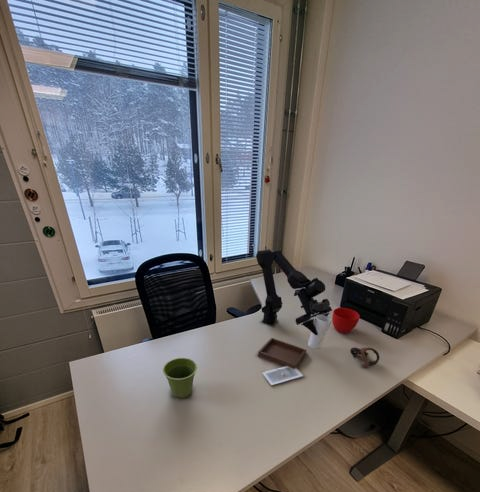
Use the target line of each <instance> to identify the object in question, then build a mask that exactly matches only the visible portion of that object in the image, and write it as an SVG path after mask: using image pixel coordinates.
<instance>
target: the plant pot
mask: <svg viewBox="0 0 480 492" xmlns="http://www.w3.org/2000/svg"><path fill="white" fill-rule="evenodd" d="M197 370H198V365H197V363H196V361H194V360H193V359H191V358H188V357H176V358H173V359H171V360H169V361H167V362H166V363H164V365H163V367H162V373H163V375H164V376H165V378H166V379H167V382H168V385H169V388H170V391H171V395H173V396H174V397H175V398H180V399H183V398H184V399H185V398H186V397H188V396H189V395H191V393H192V391H193V383H194V378H195V375H196V372H197Z"/></svg>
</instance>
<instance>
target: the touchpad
mask: <svg viewBox="0 0 480 492" xmlns="http://www.w3.org/2000/svg"><path fill="white" fill-rule="evenodd" d="M261 374H262V375H263V376H264V378H265V379H266V380H267V382H268V384H270V386H273V385H277V384H281V383H284V382H288V381H291V380H295V379H298V378H302V377H304V375H303V373H302V372H301V371H300V370H299V369H298V367H297V368H295V369H293V368H291V367H288V366H282V367H278V368H273V369H270V370H266V371H263V372H261Z"/></svg>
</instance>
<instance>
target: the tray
mask: <svg viewBox="0 0 480 492" xmlns="http://www.w3.org/2000/svg"><path fill="white" fill-rule="evenodd" d="M306 354H307V349H305V348H302V347H299V346H297V345H294V344H291V343H289V342H285V341H282V340H279V339H277V338H274V337H271V338H270V339H269V340H268V341H267V342H266V343H265V344H264V345H263V346H262V347H261V348H260V350H258V353H257V357H260V358H262V359H265V360H267V361H270V362H273V363H275V364H277V365H280V366H282V367H285V366H288V367H291V368H293V369H295V368H297V369H298V366H299V365H300V364H301V362H302V361H303V360H304V357H305V356H306Z"/></svg>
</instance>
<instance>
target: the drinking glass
mask: <svg viewBox="0 0 480 492" xmlns="http://www.w3.org/2000/svg"><path fill="white" fill-rule="evenodd" d="M331 323H332V319H331V318H330V317H329V316H328V317H327V316H324V315H317V316H315V317H314V325H315V328H316V330H317V333H318V335H315V334H314V333H312V332H311V331H310V335H309V339H308V343H307V346H308V347H309V348H310V349H313V350H319V349H320V347H321V345H322V342H323V340H324V339H325V336H326V335H327V332H328V330H329V328H330V326H331Z"/></svg>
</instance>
